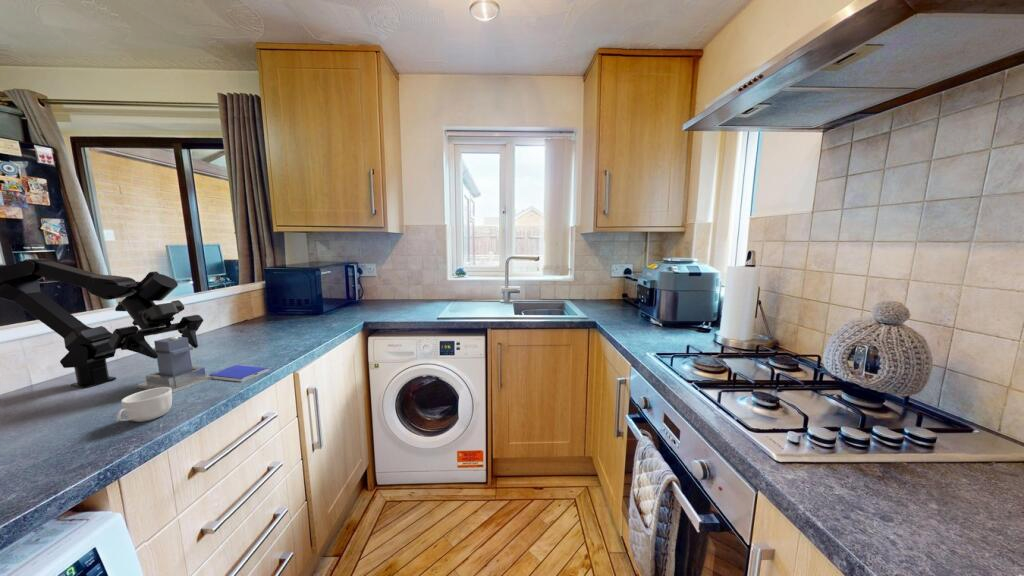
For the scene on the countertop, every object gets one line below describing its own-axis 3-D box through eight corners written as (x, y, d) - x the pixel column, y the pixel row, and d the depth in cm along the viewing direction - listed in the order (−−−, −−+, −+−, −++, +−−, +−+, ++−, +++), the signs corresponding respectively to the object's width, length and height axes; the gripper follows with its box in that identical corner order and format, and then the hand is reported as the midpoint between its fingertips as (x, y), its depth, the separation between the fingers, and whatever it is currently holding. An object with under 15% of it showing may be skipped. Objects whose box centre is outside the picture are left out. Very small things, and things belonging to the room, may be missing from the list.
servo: (157, 381, 94) (150, 338, 92) (176, 375, 98) (170, 333, 96) (178, 384, 91) (171, 340, 90) (197, 378, 96) (191, 335, 94)
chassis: (137, 387, 92) (135, 376, 91) (181, 373, 101) (180, 363, 101) (172, 392, 88) (170, 380, 88) (214, 378, 98) (213, 367, 97)
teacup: (152, 408, 80) (149, 387, 79) (184, 408, 80) (181, 386, 79) (101, 431, 70) (97, 407, 69) (138, 431, 70) (134, 407, 69)
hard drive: (208, 374, 98) (241, 377, 95) (237, 364, 106) (268, 367, 103) (209, 379, 98) (242, 382, 95) (237, 369, 106) (268, 372, 103)
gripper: (107, 298, 83) (144, 343, 82) (194, 288, 101) (226, 325, 100) (93, 327, 87) (128, 371, 85) (180, 312, 104) (210, 349, 103)
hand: (177, 352), depth 93 cm, fingers open, 9 cm apart
